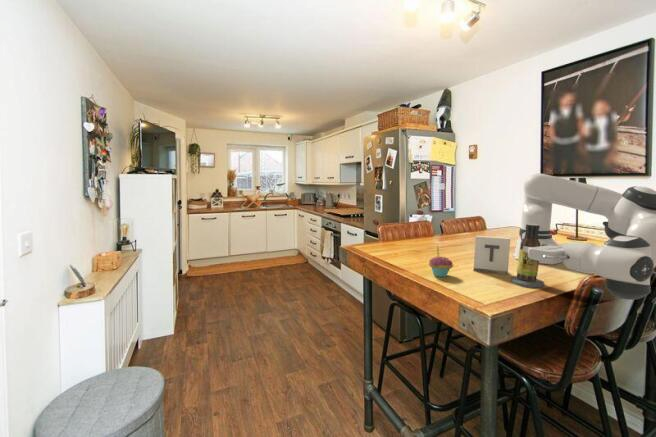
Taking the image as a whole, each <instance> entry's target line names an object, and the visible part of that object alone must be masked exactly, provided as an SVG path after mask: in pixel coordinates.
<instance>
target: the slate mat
mask: <svg viewBox="0 0 656 437" xmlns="http://www.w3.org/2000/svg"><path fill="white" fill-rule="evenodd" d="M510 282H511V283H512V284H514V285H516V286H519V285H520V286H519V287H523V286H525V287H524V288H529V287H531V288H532V289H541V288H543V286H544V287H545V281H543V280H541V279H538V278H536V281H525V280H521V279H519V278H517V275H515V276H511V277H510ZM531 288H530V289H531Z"/></svg>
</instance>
